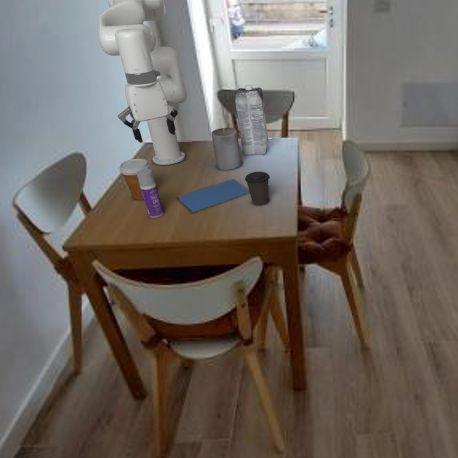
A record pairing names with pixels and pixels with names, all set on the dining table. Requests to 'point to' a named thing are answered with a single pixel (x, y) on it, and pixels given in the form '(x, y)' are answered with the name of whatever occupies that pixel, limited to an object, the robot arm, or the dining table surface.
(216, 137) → the pillar candle
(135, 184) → the disposable coffee cup
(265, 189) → the coffee cup
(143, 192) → the container
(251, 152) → the juice carton
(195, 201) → the napkin
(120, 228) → the dining table surface
